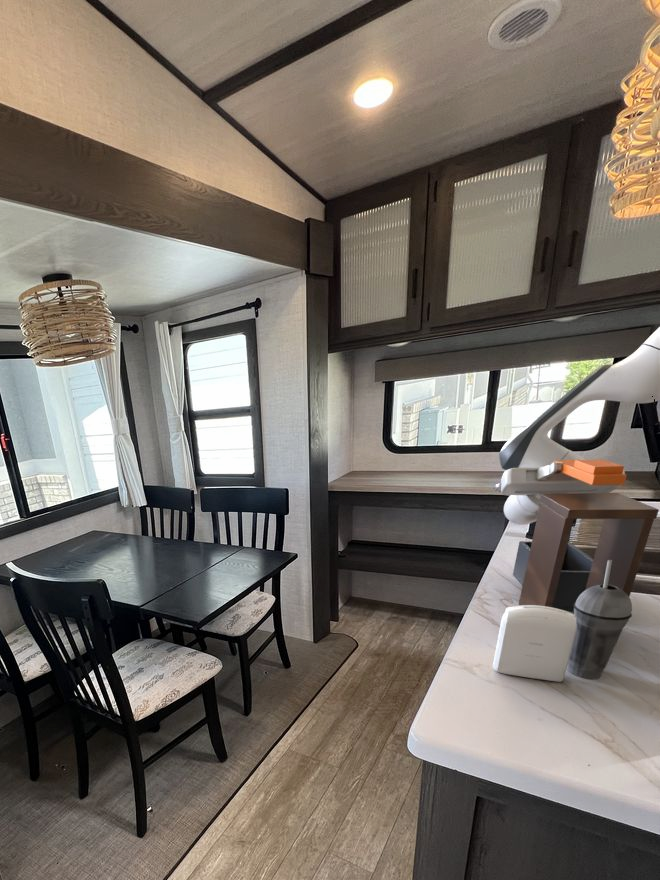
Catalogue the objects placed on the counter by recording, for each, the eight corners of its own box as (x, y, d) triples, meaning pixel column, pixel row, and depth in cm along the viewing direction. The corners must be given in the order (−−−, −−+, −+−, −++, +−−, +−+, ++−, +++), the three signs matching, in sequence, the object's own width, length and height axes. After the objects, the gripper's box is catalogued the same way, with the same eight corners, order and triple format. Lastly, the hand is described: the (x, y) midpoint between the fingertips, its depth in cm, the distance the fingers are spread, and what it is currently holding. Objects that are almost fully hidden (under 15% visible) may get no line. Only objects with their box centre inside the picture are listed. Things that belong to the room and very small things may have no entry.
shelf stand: (581, 621, 94) (617, 492, 84) (613, 654, 83) (659, 509, 72) (514, 618, 98) (541, 493, 87) (535, 648, 86) (569, 509, 76)
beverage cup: (623, 680, 76) (662, 564, 68) (584, 686, 75) (619, 569, 67) (583, 657, 82) (614, 549, 74) (546, 663, 81) (574, 555, 74)
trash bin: (561, 575, 116) (569, 541, 113) (601, 612, 97) (612, 573, 94) (512, 574, 119) (519, 541, 116) (542, 609, 100) (551, 571, 97)
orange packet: (552, 468, 92) (555, 453, 91) (578, 467, 91) (581, 453, 90) (591, 485, 76) (596, 467, 75) (624, 484, 75) (629, 466, 74)
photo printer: (492, 673, 80) (505, 608, 75) (491, 661, 83) (504, 598, 78) (565, 685, 75) (585, 617, 70) (561, 672, 79) (579, 606, 74)
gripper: (491, 477, 103) (513, 451, 90) (601, 474, 98) (642, 446, 84) (490, 505, 103) (513, 483, 89) (601, 503, 97) (642, 480, 84)
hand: (576, 465), depth 87 cm, fingers closed on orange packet, 4 cm apart
